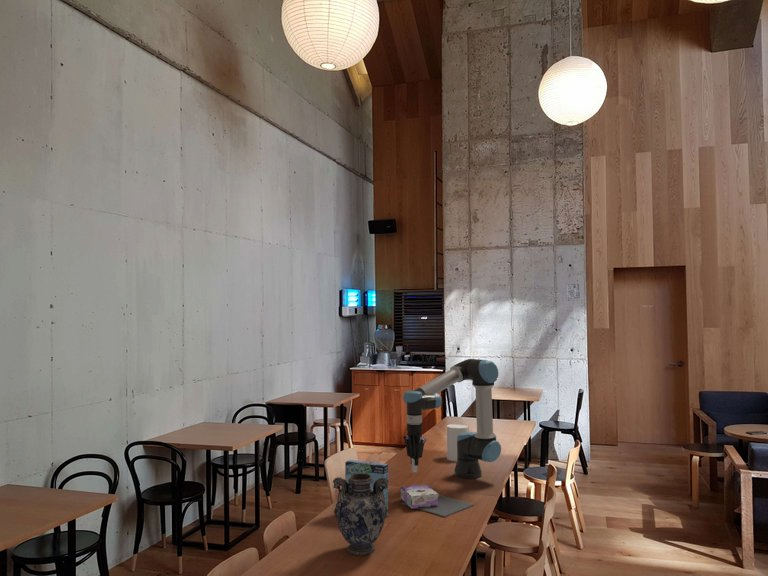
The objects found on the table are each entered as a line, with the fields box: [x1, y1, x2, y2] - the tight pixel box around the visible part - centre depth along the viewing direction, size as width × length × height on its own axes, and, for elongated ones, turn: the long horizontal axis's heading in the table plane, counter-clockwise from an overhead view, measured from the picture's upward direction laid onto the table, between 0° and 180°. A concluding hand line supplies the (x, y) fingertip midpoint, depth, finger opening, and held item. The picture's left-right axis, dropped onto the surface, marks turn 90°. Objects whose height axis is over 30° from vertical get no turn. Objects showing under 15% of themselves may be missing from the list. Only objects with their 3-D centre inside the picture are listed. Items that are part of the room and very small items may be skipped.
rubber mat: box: [401, 494, 475, 518], centre depth 279 cm, size 22×26×1 cm
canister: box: [446, 423, 470, 462], centre depth 366 cm, size 14×14×20 cm
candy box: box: [400, 484, 440, 510], centre depth 281 cm, size 14×6×16 cm
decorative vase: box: [332, 474, 389, 556], centre depth 227 cm, size 21×19×28 cm
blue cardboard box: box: [344, 459, 389, 518], centre depth 267 cm, size 20×5×23 cm, turn 66°
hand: (414, 471), depth 291 cm, fingers closed
